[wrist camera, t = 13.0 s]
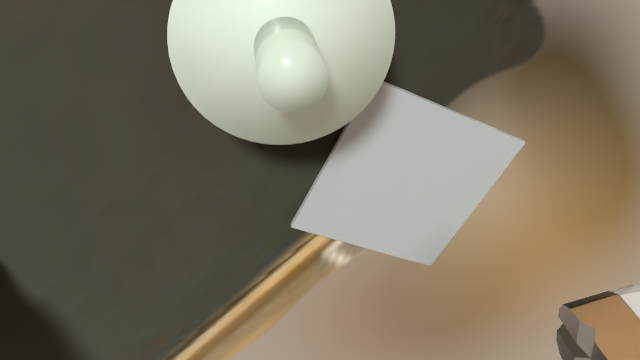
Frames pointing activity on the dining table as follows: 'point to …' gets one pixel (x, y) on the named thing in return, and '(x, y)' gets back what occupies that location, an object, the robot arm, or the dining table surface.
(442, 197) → the mat
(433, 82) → the dining table surface
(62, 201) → the dining table surface
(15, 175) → the dining table surface
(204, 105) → the lid
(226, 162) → the dining table surface
